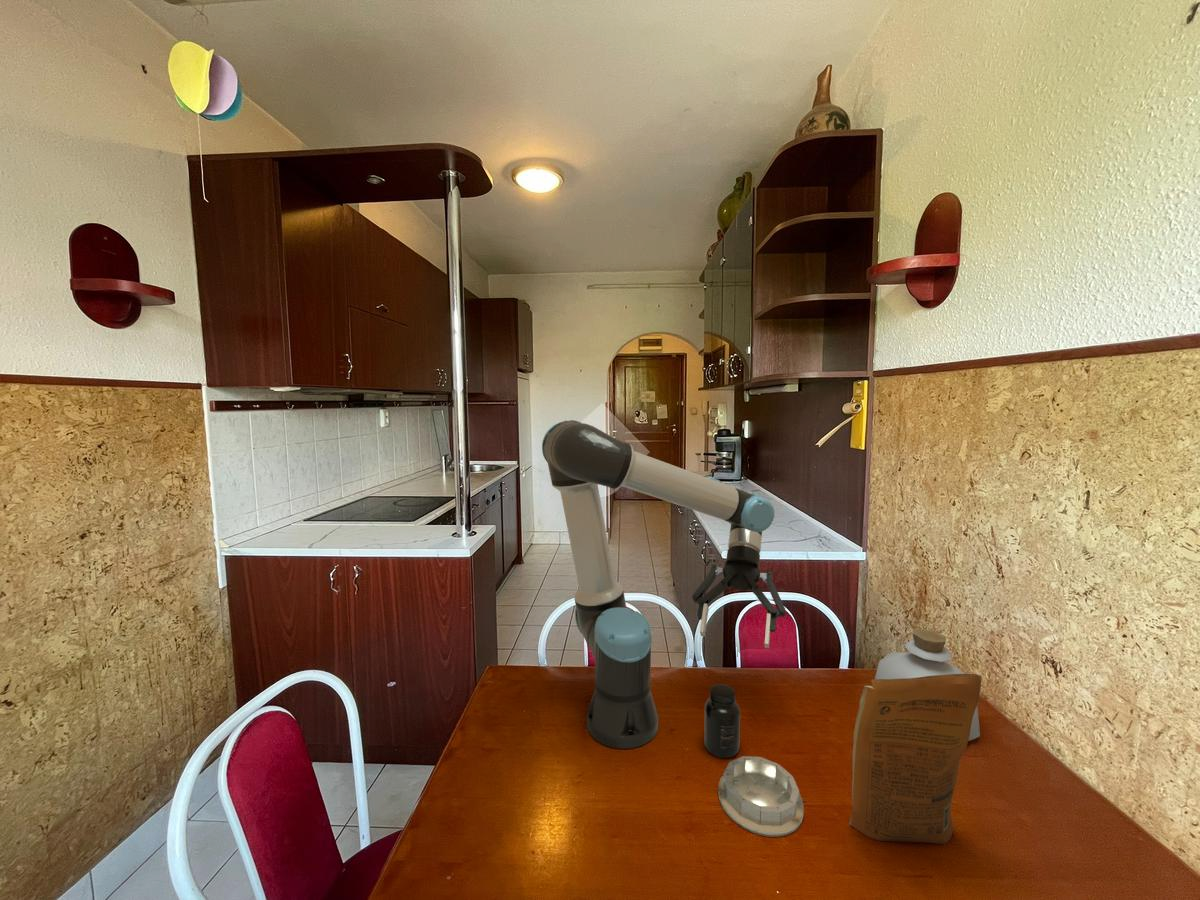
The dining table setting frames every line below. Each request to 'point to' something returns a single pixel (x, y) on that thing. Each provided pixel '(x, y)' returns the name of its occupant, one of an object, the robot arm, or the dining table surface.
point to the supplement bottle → (722, 722)
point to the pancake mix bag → (910, 755)
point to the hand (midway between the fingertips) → (733, 640)
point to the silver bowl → (761, 797)
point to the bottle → (923, 663)
